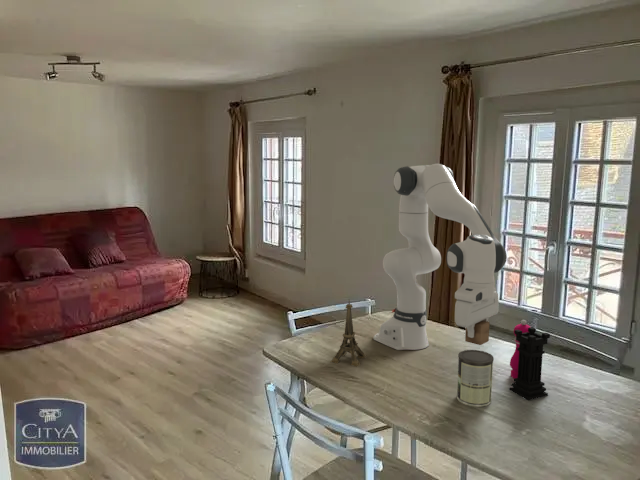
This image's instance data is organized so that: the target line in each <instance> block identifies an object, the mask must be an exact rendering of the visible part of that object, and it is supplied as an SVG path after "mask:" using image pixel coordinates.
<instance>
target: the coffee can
mask: <svg viewBox="0 0 640 480" xmlns="http://www.w3.org/2000/svg"><path fill="white" fill-rule="evenodd" d="M457 357H458V361H457V362H458V364H457V365H458V366H457V369H458V370H457V392H456V394H457V395H456V399H457V400H458V402H460V403H461V404H463V405H466V406H469V407H473V408H474V407H475V408H481V407H486V406H490V405H491V403H492V393H493V392H492V389H493V388H492V387H493V370H494V369H493V368H494V359H495V358H494V355H492V354H491V353H489V352H488V351H483V350H479V349H466V350H462V351H459V353H458V356H457Z"/></svg>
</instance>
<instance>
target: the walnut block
mask: <svg viewBox="0 0 640 480" xmlns="http://www.w3.org/2000/svg"><path fill="white" fill-rule="evenodd" d="M474 331H476V334H475V335H476V336H475V337H473V338H470V337H468V331H467V328H465V337H464V338H465V342H466V343H470V344H474V345H478V346H482V345H484V344H485V343H488V342H489V341H490V321H483V320H482V321H480V322H478V323H476V324H475V326H474Z"/></svg>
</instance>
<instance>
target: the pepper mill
mask: <svg viewBox="0 0 640 480" xmlns="http://www.w3.org/2000/svg"><path fill="white" fill-rule="evenodd" d="M530 327H531V325H529V324H527V320H525V319H522V320H521V321H520V324H517V325H515V326H514V328H513V332H514V331H515V330H521V331H522V333H525V332H528V328H530ZM513 335H514V336H515V337H514V343H515V350H514V353H513V354H512V356H511V358H510V361H509V366H510V368H511V370H510V377H511V378H513V380H514V379H515V378H518V362H519V351H518V350H517V348H519V345H520V342H519V341H517V340H516V334H514V333H513Z"/></svg>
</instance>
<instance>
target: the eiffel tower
mask: <svg viewBox="0 0 640 480" xmlns="http://www.w3.org/2000/svg"><path fill="white" fill-rule="evenodd" d="M352 308H353V304H351V303H350V300H348V303H347V304H346V305H345V309H346V317H345V326H344V333H343V334H342V337H343V339H342V343H341V345H339V347H340V348H339V349H338V351H337V353H336V354H335V355H334V357H333V358H332V359H331V361H330V363H331V362H334V363H333V364H339V362H340V361H341V357H342V355H344V356H347V354H348V353H349V354H350V355H351V363H350V366H351V365H354V366H353V367H357V366H358V367H360V365H361V363H360V361H359V359H363V358H364V359H366V358H367V357H368V356H367V355H366V354H365V353H364V352H363V350H362V349H361V348H360V347H359V345H358V343H357V341H356V338H355V335H356V332H355V331H354V325H353V315H352ZM355 353H356V354H357V356H356V354H355ZM365 357H366V358H365Z"/></svg>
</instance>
